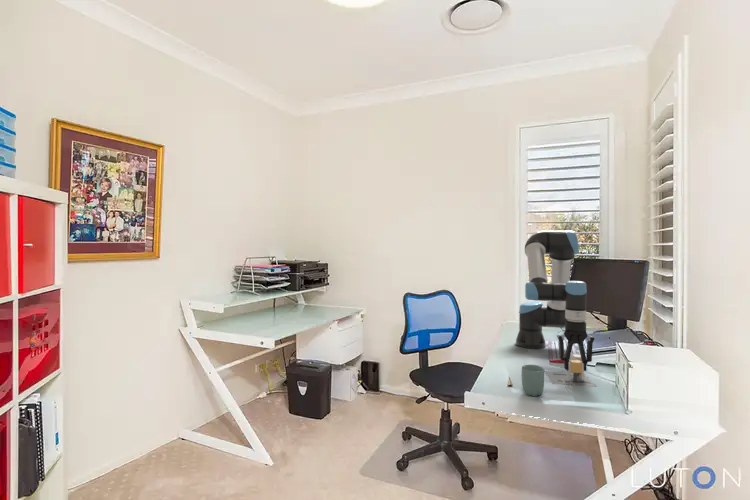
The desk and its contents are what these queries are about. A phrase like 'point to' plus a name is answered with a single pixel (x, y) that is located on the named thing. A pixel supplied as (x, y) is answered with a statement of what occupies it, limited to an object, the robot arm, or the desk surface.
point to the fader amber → (576, 368)
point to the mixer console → (562, 378)
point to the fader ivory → (576, 358)
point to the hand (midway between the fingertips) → (575, 378)
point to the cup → (532, 379)
